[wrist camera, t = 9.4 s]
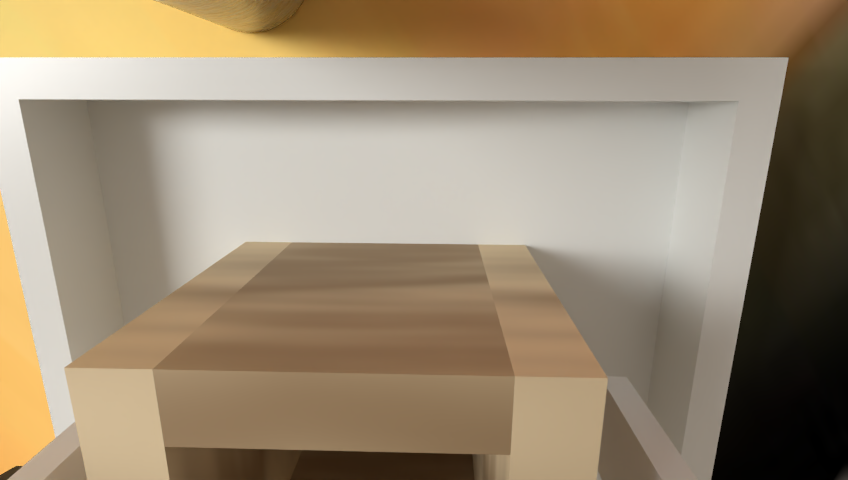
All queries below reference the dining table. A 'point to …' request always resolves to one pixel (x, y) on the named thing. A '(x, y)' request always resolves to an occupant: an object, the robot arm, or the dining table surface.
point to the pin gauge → (239, 12)
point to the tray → (403, 190)
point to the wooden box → (346, 371)
